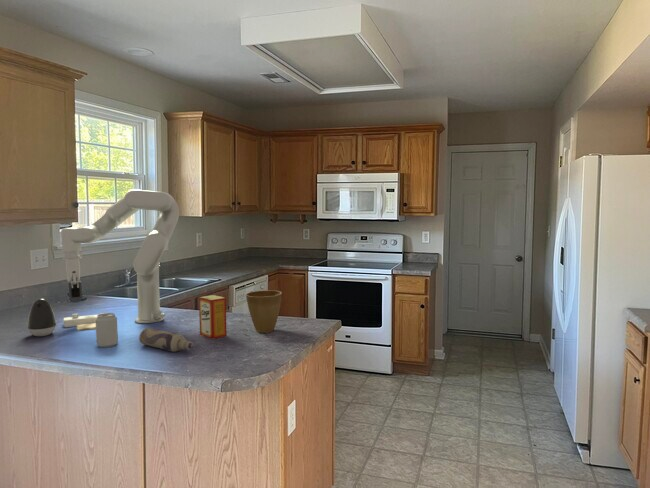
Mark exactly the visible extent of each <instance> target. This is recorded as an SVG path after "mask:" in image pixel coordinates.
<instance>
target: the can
mask: <svg viewBox="0 0 650 488" xmlns="http://www.w3.org/2000/svg"><path fill="white" fill-rule="evenodd" d="M102 313H103V314H101V313H99V315H98V314H96V315H97V316H98V317H97V318H96V329H95V334H96V335H95V336H96V337H95V338H96V345H97V346H98V347H100V348H110V347H111V348H112V347H115V346H116V345H117V343H119V337H118V336H119V334H118V332H119V331H118V317H117V316H116V314H115V313H113V312H102Z"/></svg>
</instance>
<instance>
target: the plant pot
mask: <svg viewBox="0 0 650 488" xmlns="http://www.w3.org/2000/svg"><path fill="white" fill-rule="evenodd" d="M245 297H246V302H247V308H248V313H249V315H250V318H251V321H252V324H253V326H254V329H255V331H256V333H264V334H265V333H271V332H274V330H275V328H276V325H277V322H278V318H279V313H280V308H281V303H282V291H279V290H271V289H270V290H269V289H268V290H255V291H250V292H247V293H246V294H245Z"/></svg>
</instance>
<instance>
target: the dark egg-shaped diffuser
mask: <svg viewBox="0 0 650 488" xmlns="http://www.w3.org/2000/svg"><path fill="white" fill-rule="evenodd" d="M27 318H28V320H27V329H28V330H29V331H28V332H29V333H30V335H33V336H35V337H47V336H49V335H51V334H52V333H53V332H54V330H55V329H56V326H57V321H56V316H55V313H54V311H53V307H52V306H51V303H50V302H49V301H48V300H47V299H45V298H38V299H36V300H35V301H34V302H33V303H32V304H31V308H30V310H29V313H28V317H27Z"/></svg>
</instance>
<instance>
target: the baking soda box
mask: <svg viewBox="0 0 650 488" xmlns="http://www.w3.org/2000/svg"><path fill="white" fill-rule="evenodd" d="M226 300H227V299H226V297H223V296H219V295H215V294H212V295H211V294H210V295H203V296H199V297H198V309H199V310H198V311H199V313H198V315H199V316H198V317H199V335H200V336H202V337H205V338H209V339H211V340H215V339H216V340H217V339H220V338H223V337H227V336H228V334H227V333H228V332H227V301H226Z"/></svg>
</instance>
